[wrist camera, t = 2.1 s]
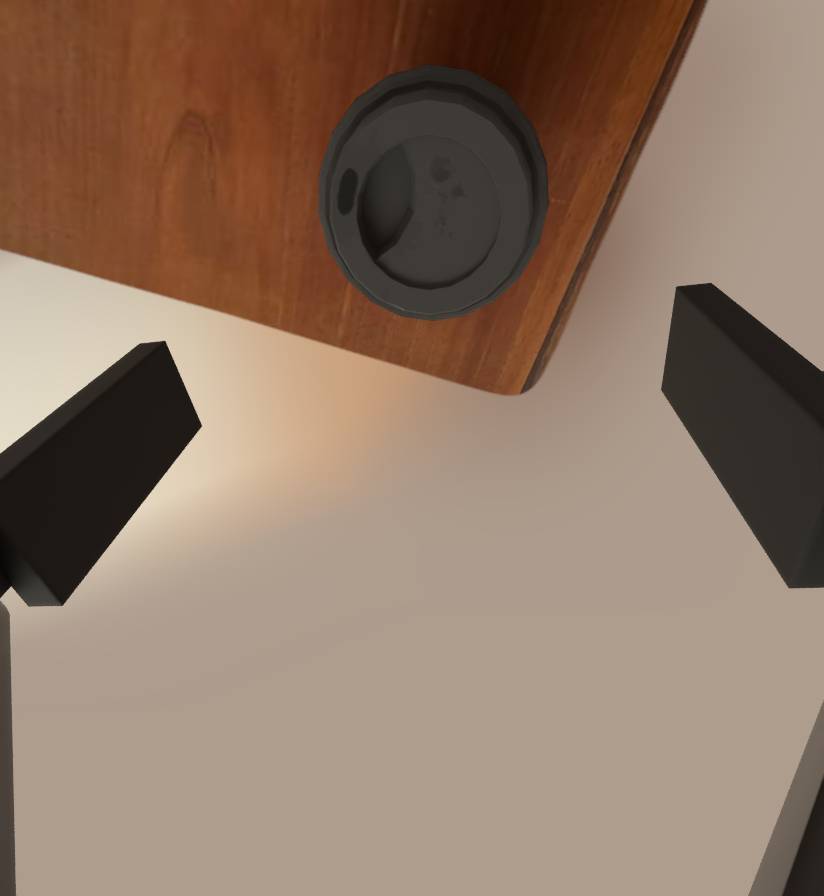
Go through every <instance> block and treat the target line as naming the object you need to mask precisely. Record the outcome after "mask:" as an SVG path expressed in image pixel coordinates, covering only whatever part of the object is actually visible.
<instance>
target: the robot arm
mask: <svg viewBox="0 0 824 896" xmlns="http://www.w3.org/2000/svg"><path fill="white" fill-rule="evenodd" d="M661 390H662V392H663V393H664V395H665V397H666V398H667V400H668V401H669V403H670V404H671V406H672V407H673V409H674V411H675V412H676V414H677V415H678V417H679V418H680V420H681V421H682V423H683V425H684V426H685V428H686V429H687V431H688V432H689V434H690V435H691V437H692V439H693V440H694V442H695V443H696V445H697V446H698V448H699V449H700V451H701V452H702V454H703V455H704V457H705V458H706V460H707V462H708V463H709V465H710V466H711V468H712V469H713V471H714V473H715V474H716V476H717V477H718V479H719V480H720V482H721V484H722V485H723V486H724V488H725V490H726V491H727V493H728V494H729V496H730V498H731V499H732V501H733V502H734V504H735V505H736V507H737V508H738V510H739V511H740V513H741V515H742V516H743V518H744V519H745V521H746V522H747V524H748V525H749V527H750V529H751V530H752V532H753V533H754V535H755V536H756V538H757V539H758V541H759V543H760V544H761V546H762V547H763V549H764V550H765V552H766V553H767V555H768V556H769V558H770V560H771V561H772V563H773V564H774V566H775V567H776V569H777V570H778V572H779V574H780V575H781V577H782V578H783V580H784V581H785V583H786V585H787V586H788V587H789V588H821V587H824V371H821V370H819V369H818V368H817V367H816V366H814V365H813V364H812V363H811V362H809V361H808V360H807V359H805V358H804V357H803V356H802V355H800V354H799V353H798V352H797V351H796V350H794V349H793V348H791V346H789V345H788V344H787V343H786V342H784V341H783V340H782V339H781V338H779V337H778V336H777V335H776V334H774V333H773V332H772V331H771V330H769V329H768V328H767V327H765V326H764V325H763V324H762V323H761V322H759V321H758V320H757V319H756V318H754V317H753V316H752V315H751V314H749V313H748V312H747V311H746V310H744V309H743V308H742V307H741V306H739V305H738V304H737V303H736V302H734V301H733V300H732V299H731V298H729V297H728V296H727V295H726V294H724V293H723V292H722V291H721V290H719V289H718V288H717V287H716V286H714V285H713V284H712V283H707V284H697V285H687V286H678V287H676V292H675V299H674V306H673V313H672V319H671V327H670V333H669V340H668V348H667V354H666V361H665V368H664V375H663V382H662V388H661ZM201 427H202V425H201V422H200V420H199V418H198V415H197V413H196V411H195V409H194V406H193V404H192V402H191V399H190V397H189V395H188V392H187V390H186V388H185V385H184V383H183V381H182V378H181V376H180V374H179V372H178V369H177V367H176V365H175V363H174V360H173V358H172V356H171V353H170V351H169V349H168V346H167V344H166V342H165V341H160V342H150V343H141V344H139V345H137V346H136V347H135V348H134V349H132V350H131V351H130V352H128V353H127V354H126V355H125V356H123V357H122V358H121V359H120V360H119V361H117V362H116V363H115V364H113V365H112V366H111V367H109V368H108V369H107V370H106V371H104V372H103V373H102V374H101V375H99V376H98V377H97V378H96V379H94V380H93V381H92V382H90V383H89V384H88V385H87V386H86V387H84V388H83V389H82V390H80V391H79V392H78V393H77V394H75V395H74V396H73V397H71V398H70V399H69V400H68V401H66V402H65V403H64V404H63V405H61V406H60V407H59V408H58V409H56V410H55V411H54V412H52V413H51V414H50V415H49V416H47V417H46V418H45V419H44V420H42V421H41V422H40V423H38V424H37V425H36V426H35V427H33V428H32V429H31V430H30V431H29V432H27V433H26V434H25V435H24V436H22V437H21V438H19V439H18V440H17V441H16V442H14V443H13V444H12V445H11V446H9V447H8V448H7V449H6V450H4V451H3V452H2V453H0V598H1V597H2V596H3V594H4V593H5V592H6V591H7V590H8V589H9V588H10V587H11V586H12V587H13V589H14V590H15V591H16V592H17V593H18V594H19V596H20V597H21V598H22V599H23V600H24V602H25V603H26V604H27V605H28V606H63V605H64V603H65V602H66V601H67V599H68V598H69V597H70V595H71V594H72V593H73V592H74V590H75V589H76V588H77V586H78V585H79V584H80V583H81V581H82V580H83V579H84V577H85V576H86V575H87V574H88V572H89V571H90V569H91V568H92V567H93V566H94V565H95V563H96V562H97V561H98V559H99V558H100V557H101V555H102V554H103V553H104V552H105V550H106V549H107V548H108V547H109V545H110V544H111V543H112V541H113V540H114V539H115V538H116V536H117V535H118V534H119V532H120V531H121V530H122V529H123V527H124V526H125V525H126V523H127V522H128V521H129V520H130V518H131V517H132V516H133V514H134V513H135V512H136V511H137V509H138V508H139V507H140V505H141V504H142V503H143V501H144V500H145V499H146V498H147V496H148V495H149V494H150V492H151V491H152V490H153V489H154V487H155V486H156V484H157V483H158V482H159V481H160V480H161V478H162V477H163V476H164V474H165V473H166V472H167V471H168V469H169V468H170V467H171V465H172V464H173V463H174V462H175V460H176V459H177V458H178V456H179V455H180V454H181V453H182V451H183V450H184V449H185V447H186V446H187V444H189V442H190V441H191V440H192V438H193V437H194V436H195V434H196V433H197V432H198V431H199V429H200V428H201ZM10 661H11V660H10V615H9V612H8V610H7V608H6V607H5V606H4V604H3V603H2V602H1V601H0V896H16V884H15V840H14V839H15V838H14V799H13V798H14V797H13V796H14V795H13V750H12V706H11V705H12V704H11V662H10ZM748 896H824V701H823V703H822V706H821V709H820V712H819V714H818V717H817V719H816V722H815V724H814V727H813V729H812V732H811V735H810V737H809V740H808V742H807V745H806V748H805V750H804V753H803V755H802V758H801V761H800V763H799V766H798V769H797V771H796V773H795V776H794V779H793V781H792V784H791V786H790V789H789V792H788V795H787V797H786V799H785V802H784V805H783V807H782V810H781V813H780V815H779V818H778V820H777V823H776V825H775V828H774V831H773V833H772V836H771V838H770V841H769V844H768V846H767V849H766V852H765V854H764V856H763V859H762V862H761V864H760V867H759V869H758V872H757V875H756V877H755V880H754V882H753V885H752V888H751V890H750V893H749V895H748Z"/></svg>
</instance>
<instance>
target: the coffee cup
mask: <svg viewBox="0 0 824 896" xmlns="http://www.w3.org/2000/svg"><path fill="white" fill-rule="evenodd" d="M548 205H549V198H548V176H547V162H546V159H545V157H544V154H543V151H542V149H541V146H540V143H539V140H538V138H537V135H536V132H535V130H534V127H533V124H532V123H531V122H530V120H529V119H528V118H527V117H526V115H525V114H524V113H523V112H522V111H521V109H520V108H519V107H518V106H517V104H516V103H515V102H514V101H513V99H512V98H511V97H510V96H509V95H508V93H507V92H506V91H504V90H503V89H501V88H499V87H497V86H496V85H494V84H492V83H491V82H489V81H487V80H485V79H484V78H482V77H480V76H479V75H477V74H475V73H473V72H472V71H469V70H463V69H456V68H449V67H442V66H435V65H427V66H423V67H419V68H415V69H411V70H407V71H403V72H399V73H395V74H391V75H389V76H387V77H386V78H384V79H383V80H382V81H380V82H379V83H377V84H376V85H374V86H373V87H372V88H370V89H369V90H367V91H366V92H365V93H363V94H362V95H360V96H359V97H358V98H356V99H355V101H354V102H353V104H352V105H351V106H350V108H349V109H348V111H347V112H346V113H345V115H344V116H343V118H342V119H341V121H340V122H339V123H338V125H337V126H336V128H335V129H334V130H333V132H332V135H331V138H330V141H329V144H328V147H327V150H326V154H325V157H324V160H323V163H322V166H321V170H320V173H319V217H320V220H321V224H322V227H323V231H324V235H325V238H326V242H327V246H328V249H329V251H330V253H331V254H332V256H333V258H334V259H335V261H336V262H337V264H338V266H339V267H340V269H341V271H342V272H343V274H344V275H345V277H346V279H347V280H348V281H349V282H350V283H351V284H352V285H353V286H354V287H356V288H357V289H358V290H359V291H360V292H361V293H362V294H363V295H364V296H366V297H367V298H368V299H369V300H370V301H371V302H372V303H374V304H376V305H379V306H381V307H383V308H385V309H387V310H389V311H391V312H393V313H395V314H397V315H400V316H403V317H409V318H416V319H423V320H430V321H435V320H441V319H448V318H454V317H460V316H465V315H467V314H469V313H471V312H473V311H475V310H477V309H479V308H481V307H483V306H485V305H487V304H489V303H491V302H493V301H495V300H496V299H497V298H498V297H499V296H500V295H501V294H502V293H503V292H504V291H506V290H507V289H508V288H509V287H510V286H511V285H512V284H513V283H514V282H515V281H516V280H517V279H518V278H519V277H520V276H521V274H522V273H523V271H524V269H525V268H526V266H527V264H528V262H529V261H530V259H531V257H532V256H533V254H534V252H535V251H536V249H537V247H538V245H539V242H540V238H541V234H542V230H543V226H544V222H545V218H546V214H547V210H548Z"/></svg>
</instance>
